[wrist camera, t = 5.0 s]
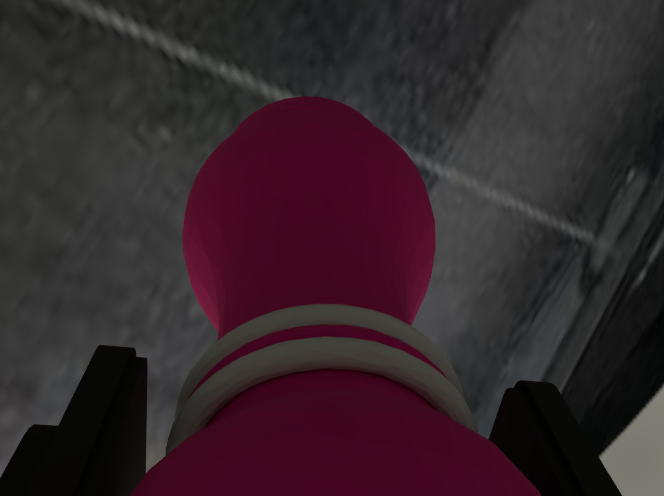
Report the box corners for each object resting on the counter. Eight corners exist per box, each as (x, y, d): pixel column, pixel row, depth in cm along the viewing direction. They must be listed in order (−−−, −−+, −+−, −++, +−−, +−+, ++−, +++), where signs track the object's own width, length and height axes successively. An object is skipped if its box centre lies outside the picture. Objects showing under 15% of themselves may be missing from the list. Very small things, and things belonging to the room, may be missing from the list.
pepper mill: (420, 250, 23) (867, 1296, 5) (236, 289, 23) (50, 1411, 5) (389, 58, 20) (1286, 1056, 2) (176, 106, 20) (-748, 1360, 2)
